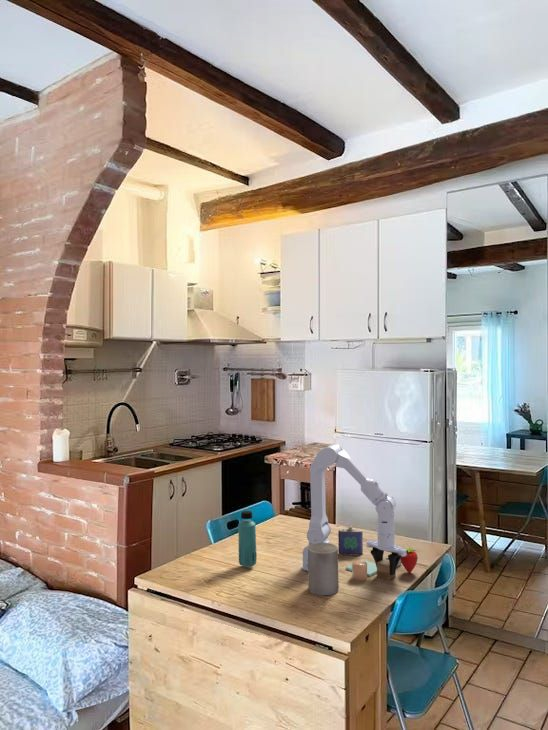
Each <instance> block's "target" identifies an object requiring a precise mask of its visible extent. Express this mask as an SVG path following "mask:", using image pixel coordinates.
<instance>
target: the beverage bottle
mask: <svg viewBox="0 0 548 730" xmlns="http://www.w3.org/2000/svg"><path fill="white" fill-rule="evenodd" d="M240 514H241V515H240V518H241V519H242V520H241V521H239V523H238V524H237V527H238V529H237V530H238V554H237V555H238V564H239V565H240V566H241V567H253V566H255V565H256V564H257V535H256V534H257V533H256V530H257V529H256V527H257V526H256V522H255V521H253V520H251V519H253V511H251V510H243V511H241V513H240Z"/></svg>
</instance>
